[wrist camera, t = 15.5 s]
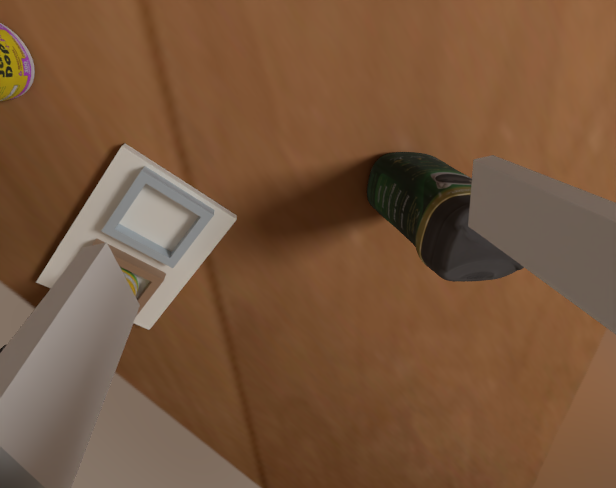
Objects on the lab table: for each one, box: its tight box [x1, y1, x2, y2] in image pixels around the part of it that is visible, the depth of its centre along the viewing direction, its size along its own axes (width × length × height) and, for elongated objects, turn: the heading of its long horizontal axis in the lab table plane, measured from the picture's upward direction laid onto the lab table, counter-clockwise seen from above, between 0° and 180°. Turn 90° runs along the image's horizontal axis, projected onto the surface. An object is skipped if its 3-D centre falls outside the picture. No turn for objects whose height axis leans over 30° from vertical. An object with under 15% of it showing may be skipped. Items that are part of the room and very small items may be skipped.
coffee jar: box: [367, 152, 524, 281], centre depth 36 cm, size 10×8×19 cm
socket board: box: [36, 144, 237, 330], centre depth 41 cm, size 14×20×3 cm
